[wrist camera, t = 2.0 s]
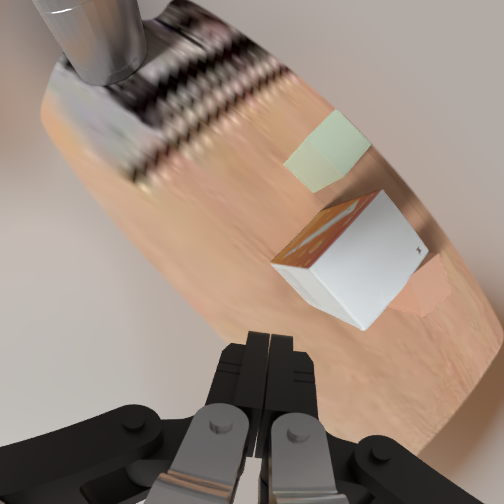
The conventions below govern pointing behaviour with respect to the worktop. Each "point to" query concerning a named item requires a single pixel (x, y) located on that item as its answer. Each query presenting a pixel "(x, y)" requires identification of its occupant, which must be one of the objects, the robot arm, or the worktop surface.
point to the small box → (353, 258)
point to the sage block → (327, 153)
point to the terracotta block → (424, 288)
